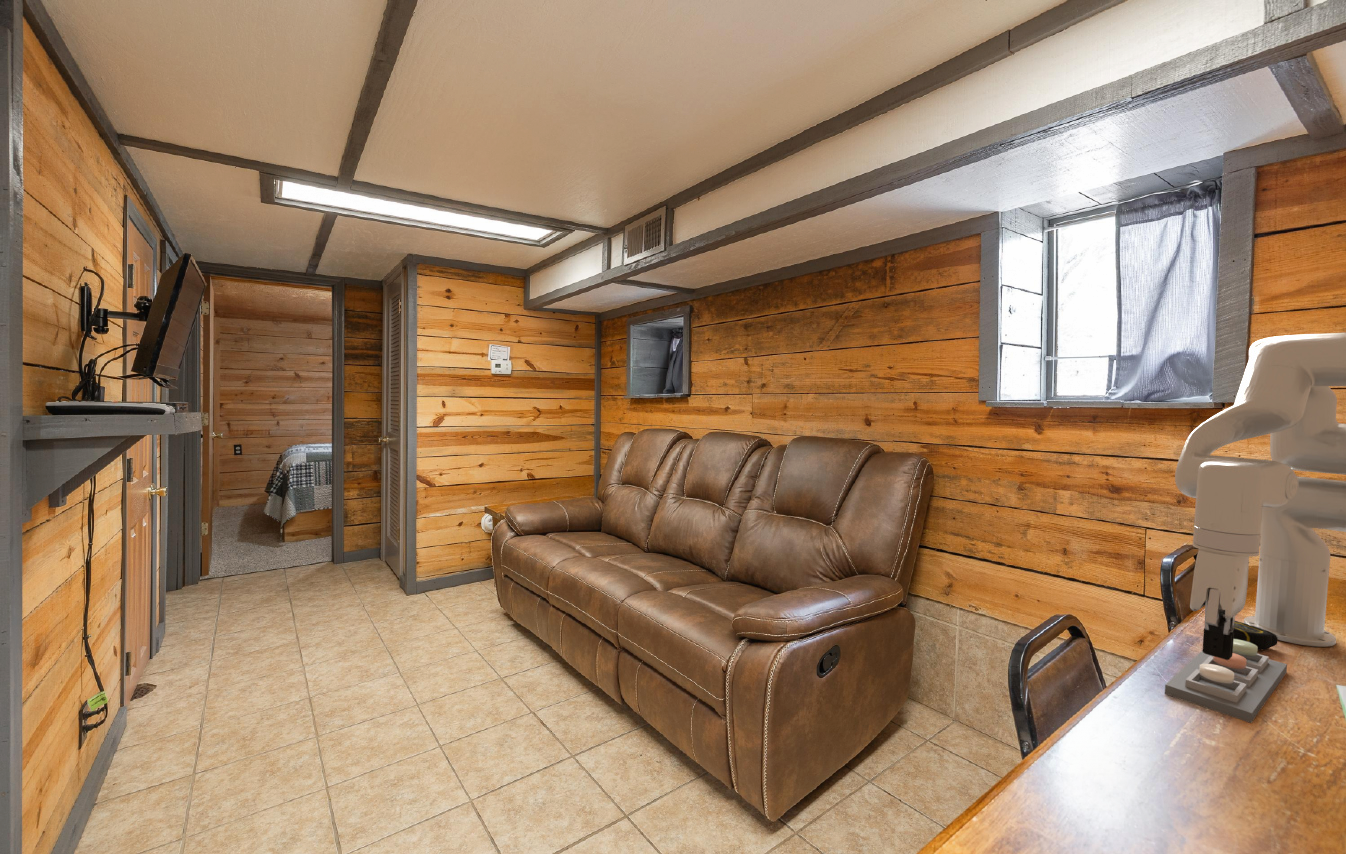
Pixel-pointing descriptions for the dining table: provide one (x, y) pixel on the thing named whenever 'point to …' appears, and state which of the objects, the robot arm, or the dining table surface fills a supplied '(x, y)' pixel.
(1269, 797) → the dining table surface
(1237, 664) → the button terracotta
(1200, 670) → the cream button
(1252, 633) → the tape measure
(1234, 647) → the button sage
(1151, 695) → the dining table surface
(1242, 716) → the button board
